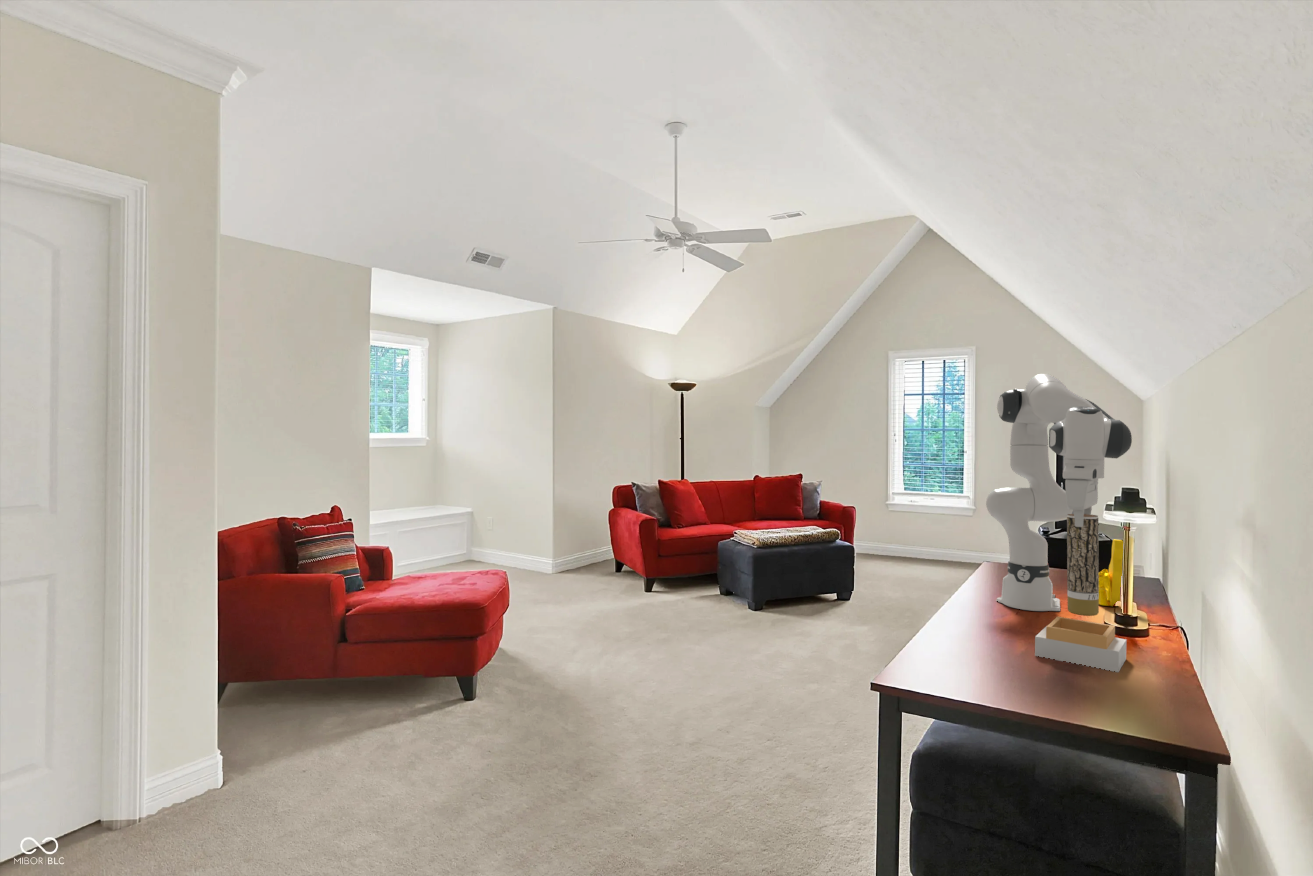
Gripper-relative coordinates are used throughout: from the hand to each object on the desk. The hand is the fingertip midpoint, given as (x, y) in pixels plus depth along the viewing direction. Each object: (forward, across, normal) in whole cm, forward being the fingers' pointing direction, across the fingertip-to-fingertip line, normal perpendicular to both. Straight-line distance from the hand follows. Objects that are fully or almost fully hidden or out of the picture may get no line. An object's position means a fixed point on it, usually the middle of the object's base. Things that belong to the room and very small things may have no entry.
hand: (1082, 524), depth 177 cm
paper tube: (+23, 0, 0) cm, 23 cm away
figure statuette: (+34, -68, -3) cm, 76 cm away
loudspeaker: (+34, 0, 0) cm, 34 cm away
